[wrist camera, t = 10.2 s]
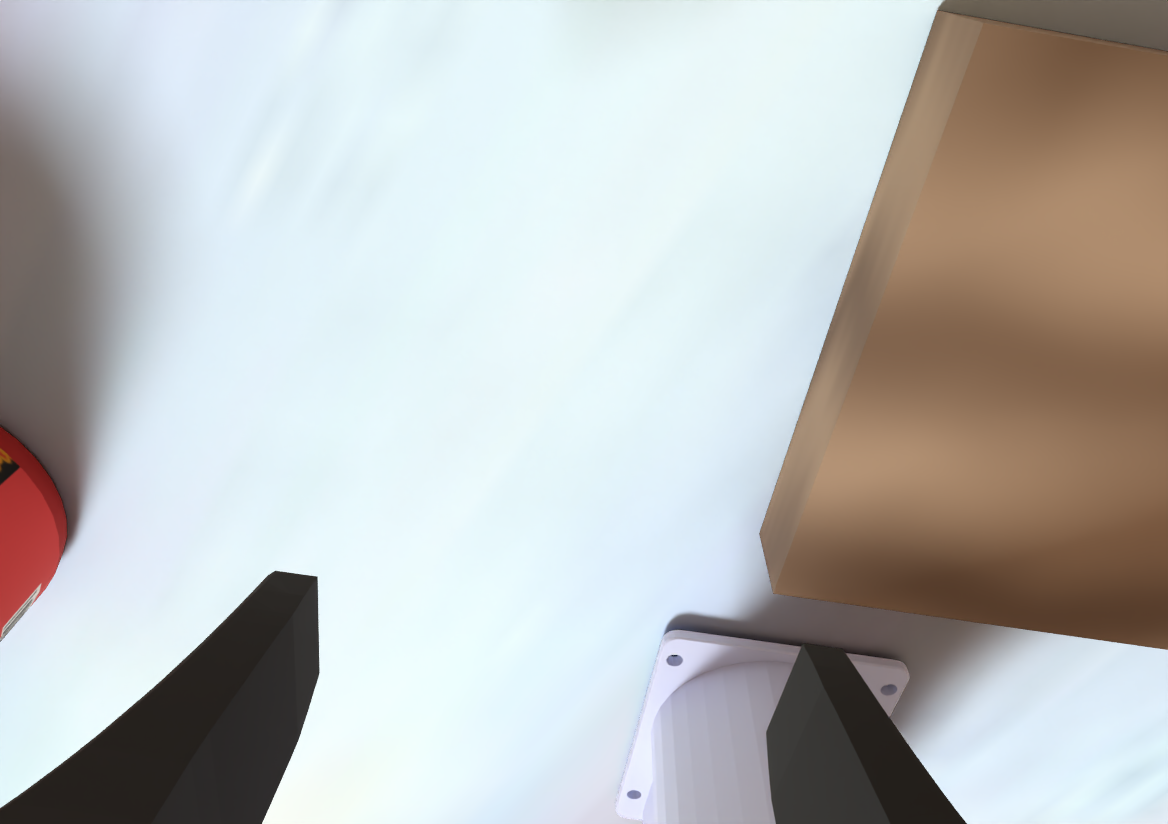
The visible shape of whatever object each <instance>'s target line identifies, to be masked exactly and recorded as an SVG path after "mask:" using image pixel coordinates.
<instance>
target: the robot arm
mask: <svg viewBox="0 0 1168 824" xmlns="http://www.w3.org/2000/svg"><path fill="white" fill-rule="evenodd" d="M671 655H679V656H677V657H672V656H671ZM318 676H319V631H318V580H317V577H316V576H309V575H301V574H294V573H287V572H280V571H274V572H273V573H271V574H270V575H268V576H267V577H266V578H265V579H264V580H263V581H262V582H261V583H260V584H259V585H258V587H257V588H256V589H255V590H254V591H253V592H252V593H251V594H250V595H249V596H248V597H247V598H246V599H245V600H244V601H243V602H242V603H241V604H240V605H239V606H238V607H237V608H236V609H235V610H234V611H233V612H232V613H231V614H230V615H229V617H228V618H227V619H226V620H225V621H224V622H223V623H221V624H220V625H219V626H218V627H217V628H216V629H215V630H214V631H213V632H212V633H211V634H210V635H209V636H208V637H207V638H206V639H205V640H204V641H203V642H202V643H201V644H200V645H199V646H198V647H197V648H196V649H195V650H194V651H193V652H192V653H190V654H189V655H188V656H187V657H186V658H185V659H184V660H183V661H182V662H181V663H180V664H179V665H178V666H177V667H175V668H174V669H173V670H172V671H171V672H170V673H169V674H168V675H167V676H166V677H165V678H164V679H163V680H161V681H160V682H159V683H158V684H157V685H156V686H155V687H154V688H153V689H151V690H150V691H149V692H148V693H147V694H146V695H144V696H143V697H142V698H141V699H140V700H139V701H137V702H136V703H135V704H134V705H133V706H132V707H130V708H129V709H128V710H127V711H126V712H125V713H123V714H122V715H121V716H120V717H119V718H117V719H116V720H115V721H114V722H113V723H112V724H110V725H109V726H108V727H107V728H106V729H105V730H103V731H102V732H101V733H100V734H99V735H97V736H96V737H95V738H94V739H92V740H91V741H90V742H89V743H87V744H86V745H85V746H84V747H82V748H81V749H80V750H79V751H77V752H76V753H75V754H73V755H72V756H71V757H70V758H68V759H67V760H66V761H64V762H63V763H62V764H61V765H59V766H58V767H57V768H55V769H54V770H53V771H51V772H50V773H48V774H47V775H46V776H44V777H43V778H42V779H40V780H39V781H38V782H36V783H35V784H34V785H32V786H31V787H30V788H28V789H27V790H26V791H24V792H23V793H21V794H20V795H19V796H17V797H16V798H14V799H13V800H11V801H10V802H9V803H7V804H6V805H4V806H3V807H1V808H0V824H262V822H263V820H264V818H265V815H266V813H267V811H268V809H269V806H270V804H271V802H272V800H273V797H274V795H275V793H276V791H277V788H278V786H279V784H280V781H281V779H282V777H283V775H284V772H285V770H286V768H287V765H288V763H289V761H290V759H291V756H292V754H293V752H294V749H295V747H296V745H297V742H298V740H299V737H300V734H301V730H302V727H303V724H304V721H305V718H306V715H307V712H308V709H309V706H310V702H311V699H312V696H313V692H314V689H315V686H316V683H317V679H318ZM909 678H910V675H909V672H908V670H907V667H906V665H905V664H904V663H903V662H901V661H898V660H893V659H886V658H878V657H871V656H864V655H857V654H850V653H845V652H844V650H843V649H840V648H832V647H825V646H818V645H811V644H802V646H801V647H799V646H792V645H785V644H778V643H771V642H764V641H756V640H749V639H742V638H735V637H728V636H721V635H713V634H706V633H699V632H692V631H685V630H673V631H669V632H668V633H666V634H665V635H664V636H663V638H662V640H661V644H660V647H659V651H658V654H657V658H656V661H655V665H654V668H653V672H652V675H651V679H650V682H649V686H648V689H647V693H646V696H645V700H644V703H643V707H642V710H641V714H640V717H639V721H638V724H637V728H636V731H635V735H634V738H633V742H632V745H631V749H630V752H629V756H628V759H627V763H626V766H625V770H624V773H623V777H622V780H621V784H620V787H619V791H618V794H617V798H616V813H617V814H618V815H619V816H621V817H623V818H627V819H634V820H642V824H967V823H966V822H965V821H964V820H963V818H962V817H961V816H960V815H959V813H958V812H957V811H956V809H955V808H954V807H953V805H952V804H951V803H950V802H949V800H948V799H947V798H946V796H945V795H944V794H943V792H942V791H941V789H940V788H939V787H938V785H937V784H936V783H935V781H934V780H933V778H932V777H931V776H930V774H929V773H928V772H927V770H926V769H925V767H924V766H923V765H922V763H921V762H920V761H919V759H918V758H917V756H916V755H915V754H914V752H913V751H912V750H911V748H910V747H909V745H908V744H907V742H906V741H905V740H904V738H903V737H902V735H901V734H900V732H899V731H898V729H897V728H896V727H895V725H894V724H893V722H892V721H891V719H890V718H889V717H890V716H891V714H892V712H893V710H894V708H895V706H896V704H897V702H898V700H899V698H900V696H901V695H902V693H903V691H904V689H905V687H906V685H907V683H908V681H909ZM887 684H889V685H887ZM885 685H887V686H885Z"/></svg>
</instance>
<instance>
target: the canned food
mask: <svg viewBox="0 0 1168 824" xmlns="http://www.w3.org/2000/svg"><path fill="white" fill-rule="evenodd" d="M66 539H67V518H66V514H65V511H64V507H63V503H62V500H61V497H60V495H59V493H58V491H57V489H56V487H55V485H54V483H53V481H52V479H51V478H50V476H49V475H48V474H47V472H46V471H45V470H44V468H43V467H42V466H41V464H40V463H39V461H38V460H37V459H36V458H35V457H34V456H33V455H32V454H31V453H30V452H29V451H28V450H27V449H26V448H25V447H24V446H23V445H22V444H21V443H20V442H19V441H18V440H17V439H16V438H15V437H13V436H12V435H11V434H9V433H8V432H7V431H5V430H4V429H3V428H1V427H0V642H1V641H2V639H3V638H4V637H5V636H6V635H7V634H8V632H9V631H10V630H11V629H12V628H13V626H14V625H15V624H16V623H17V622H18V621H19V619H20V618H21V617H22V616H23V615H24V614H25V612H26V611H27V610H28V609H29V608H30V607H31V605H32V604H33V603H34V602H35V601H36V599H37V598H38V597H39V596H40V595H41V594H42V592H43V591H44V590H45V589H46V588H47V586H48V584H49V583H50V581H51V579H52V578H53V576H54V574H55V573H56V570H57V567H58V565H59V562H60V559H61V557H62V554H63V551H64V547H65V543H66Z"/></svg>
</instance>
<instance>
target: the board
mask: <svg viewBox="0 0 1168 824" xmlns="http://www.w3.org/2000/svg"><path fill="white" fill-rule="evenodd" d="M759 534H760V538H761V543H762V547H763V552H764V556H765V560H766V565H767V569H768V573H769V578H770V582H771V586H772V591H773V594H780V595H787V596H794V597H801V598H808V599H815V600H822V601H829V602H836V603H843V604H850V605H857V606H864V607H871V608H878V609H885V610H892V611H899V612H906V613H914V614H921V615H928V616H935V617H942V618H949V619H956V620H963V621H970V622H977V623H984V624H991V625H998V626H1005V627H1012V628H1019V629H1026V630H1033V631H1040V632H1047V633H1054V634H1061V635H1068V636H1075V637H1082V638H1089V639H1096V640H1103V641H1110V642H1117V643H1124V644H1131V645H1138V646H1145V647H1152V648H1159V649H1166V650H1168V51H1163V50H1157V49H1152V48H1146V47H1141V46H1135V45H1129V44H1124V43H1118V42H1113V41H1107V40H1101V39H1096V38H1090V37H1085V36H1079V35H1074V34H1068V33H1062V32H1057V31H1051V30H1046V29H1040V28H1034V27H1029V26H1023V25H1018V24H1012V23H1006V22H1001V21H995V20H990V19H984V18H978V17H973V16H967V15H962V14H956V13H950V12H945V11H939V10H937V13H936V16H935V19H934V21H933V24H932V27H931V30H930V33H929V36H928V39H927V42H926V45H925V48H924V51H923V54H922V57H921V60H920V63H919V66H918V69H917V71H916V74H915V77H914V80H913V83H912V86H911V89H910V92H909V95H908V98H907V101H906V104H905V107H904V110H903V113H902V116H901V119H900V121H899V124H898V127H897V130H896V133H895V136H894V139H893V142H892V145H891V148H890V151H889V154H888V157H887V160H886V163H885V166H884V169H883V171H882V174H881V177H880V180H879V183H878V186H877V189H876V192H875V195H874V198H873V201H872V204H871V207H870V210H869V213H868V216H867V219H866V222H865V224H864V227H863V230H862V233H861V236H860V239H859V242H858V245H857V248H856V251H855V254H854V257H853V260H852V263H851V266H850V269H849V272H848V274H847V277H846V280H845V283H844V286H843V289H842V292H841V295H840V298H839V301H838V304H837V307H836V310H835V313H834V316H833V319H832V322H831V324H830V327H829V330H828V333H827V336H826V339H825V342H824V345H823V348H822V351H821V354H820V357H819V360H818V363H817V366H816V369H815V372H814V374H813V377H812V380H811V383H810V386H809V389H808V392H807V395H806V398H805V401H804V404H803V407H802V410H801V413H800V416H799V419H798V422H797V425H796V427H795V430H794V433H793V436H792V439H791V442H790V445H789V448H788V451H787V454H786V457H785V460H784V463H783V466H782V469H781V472H780V475H779V477H778V480H777V483H776V486H775V489H774V492H773V495H772V498H771V501H770V504H769V507H768V510H767V513H766V516H765V519H764V522H763V525H762V527H761V530H760V533H759Z"/></svg>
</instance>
